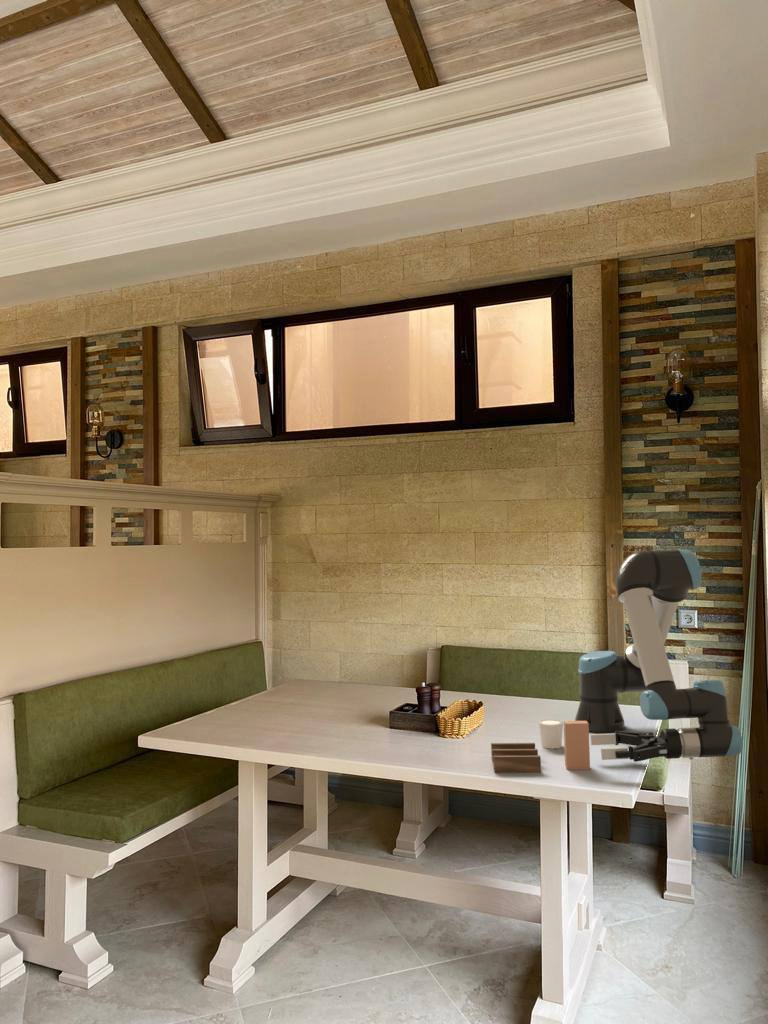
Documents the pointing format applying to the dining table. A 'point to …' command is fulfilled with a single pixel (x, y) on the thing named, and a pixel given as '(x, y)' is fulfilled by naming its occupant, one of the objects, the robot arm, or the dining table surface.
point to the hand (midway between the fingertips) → (596, 746)
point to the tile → (576, 745)
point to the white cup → (551, 733)
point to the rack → (515, 757)
